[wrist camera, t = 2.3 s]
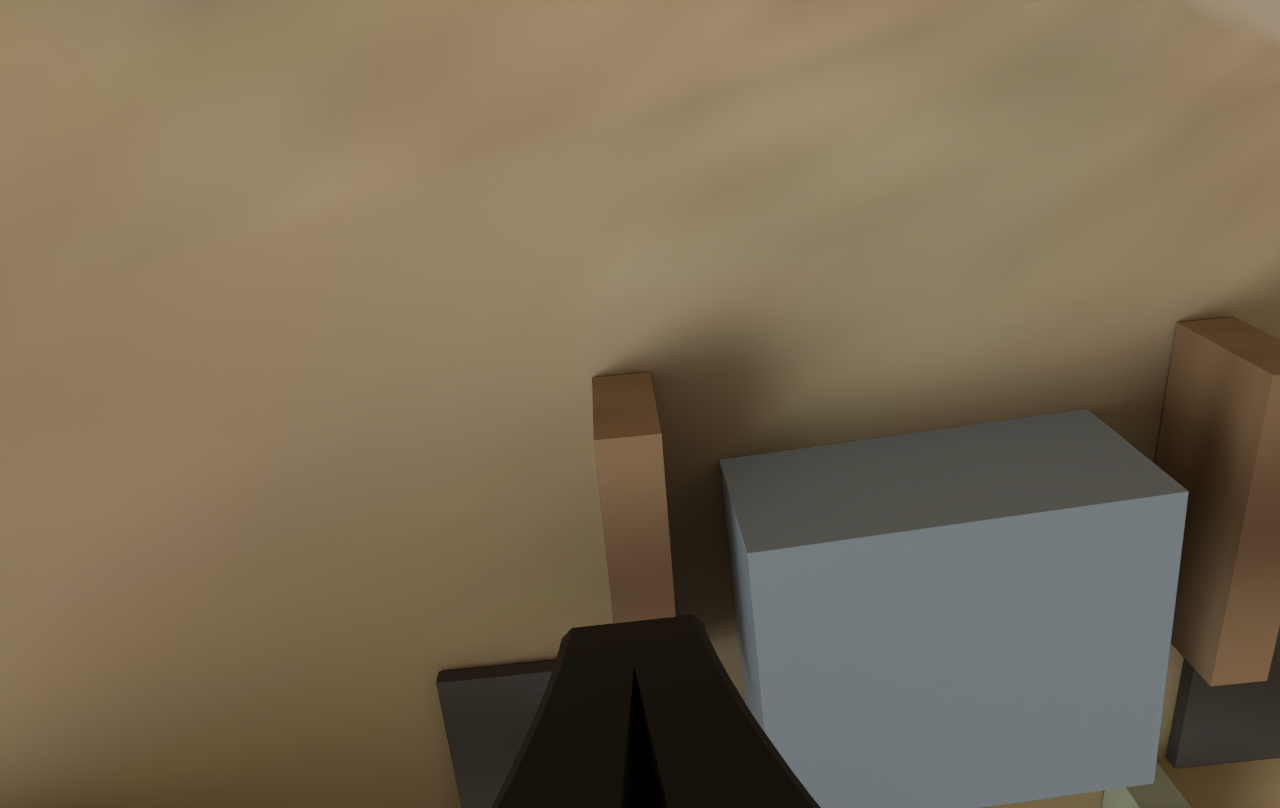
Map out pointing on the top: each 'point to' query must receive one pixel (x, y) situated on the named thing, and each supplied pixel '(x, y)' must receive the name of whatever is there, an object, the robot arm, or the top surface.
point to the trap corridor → (1206, 592)
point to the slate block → (957, 610)
